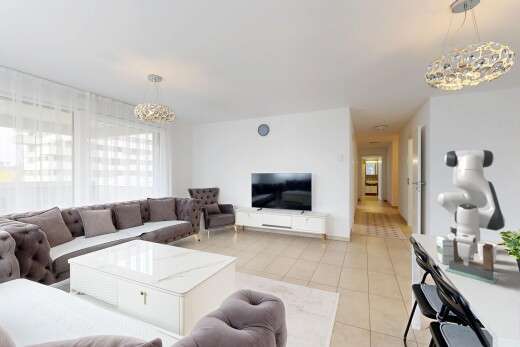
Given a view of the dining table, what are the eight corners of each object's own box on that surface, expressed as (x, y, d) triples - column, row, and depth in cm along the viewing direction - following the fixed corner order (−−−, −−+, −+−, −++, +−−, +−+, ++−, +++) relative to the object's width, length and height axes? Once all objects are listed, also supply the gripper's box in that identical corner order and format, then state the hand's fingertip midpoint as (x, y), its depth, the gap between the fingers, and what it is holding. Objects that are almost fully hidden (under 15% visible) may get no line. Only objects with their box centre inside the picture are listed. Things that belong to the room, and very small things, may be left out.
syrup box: (454, 265, 123) (454, 239, 123) (442, 264, 124) (442, 239, 124) (448, 261, 129) (447, 236, 129) (436, 260, 130) (436, 236, 130)
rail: (450, 267, 119) (450, 260, 119) (493, 278, 106) (492, 270, 106) (449, 268, 117) (448, 261, 117) (492, 280, 104) (491, 271, 104)
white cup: (493, 264, 122) (492, 247, 123) (474, 259, 130) (474, 243, 130) (499, 262, 126) (499, 245, 126) (481, 257, 133) (481, 241, 133)
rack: (455, 259, 131) (454, 237, 131) (493, 268, 118) (493, 244, 118) (451, 262, 127) (451, 240, 127) (491, 271, 114) (490, 247, 114)
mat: (449, 266, 121) (449, 265, 121) (497, 278, 107) (497, 277, 107) (444, 270, 116) (444, 269, 116) (493, 284, 102) (493, 282, 102)
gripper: (465, 231, 120) (465, 255, 121) (454, 238, 109) (455, 265, 109) (481, 233, 115) (481, 259, 115) (471, 241, 104) (472, 270, 104)
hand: (468, 262), depth 112 cm, fingers open, 8 cm apart
